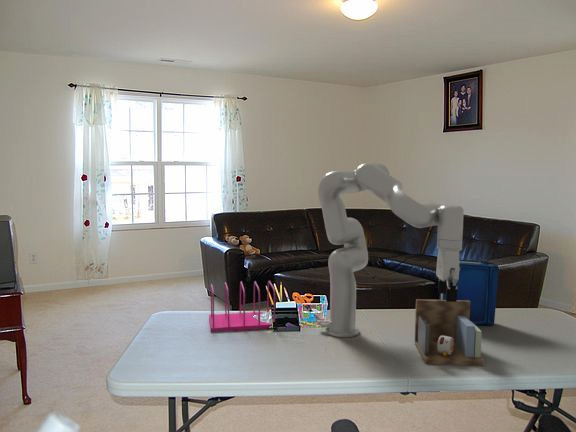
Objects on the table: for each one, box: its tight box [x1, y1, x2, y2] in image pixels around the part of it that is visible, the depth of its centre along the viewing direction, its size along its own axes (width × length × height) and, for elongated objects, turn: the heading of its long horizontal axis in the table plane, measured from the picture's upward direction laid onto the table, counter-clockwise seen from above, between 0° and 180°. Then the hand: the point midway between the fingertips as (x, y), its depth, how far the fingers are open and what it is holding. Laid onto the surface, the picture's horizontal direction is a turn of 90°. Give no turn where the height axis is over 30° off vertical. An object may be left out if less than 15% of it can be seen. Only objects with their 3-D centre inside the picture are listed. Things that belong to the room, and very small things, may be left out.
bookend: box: [418, 315, 430, 356], centre depth 163 cm, size 1×11×10 cm, turn 177°
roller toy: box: [437, 335, 454, 357], centre depth 159 cm, size 4×6×6 cm
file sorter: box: [208, 280, 276, 333], centre depth 194 cm, size 17×25×16 cm
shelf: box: [414, 298, 485, 367], centre depth 163 cm, size 18×18×16 cm
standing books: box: [456, 316, 483, 358], centre depth 162 cm, size 5×11×10 cm, turn 177°
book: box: [438, 259, 500, 327], centre depth 195 cm, size 22×7×25 cm, turn 84°
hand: (447, 297), depth 158 cm, fingers open, 9 cm apart
